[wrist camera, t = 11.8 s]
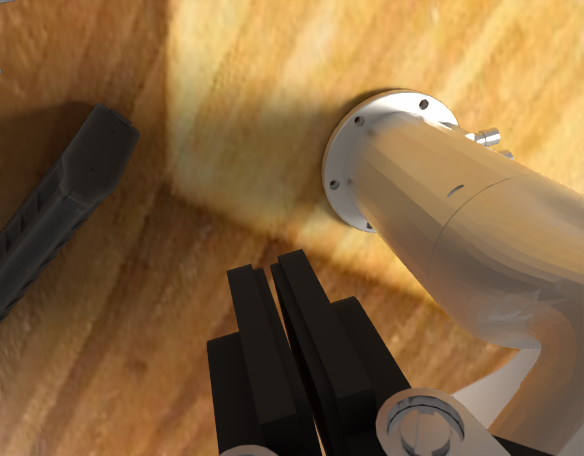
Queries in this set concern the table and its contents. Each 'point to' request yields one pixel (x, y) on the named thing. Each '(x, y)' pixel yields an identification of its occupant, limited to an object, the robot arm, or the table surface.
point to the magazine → (63, 200)
